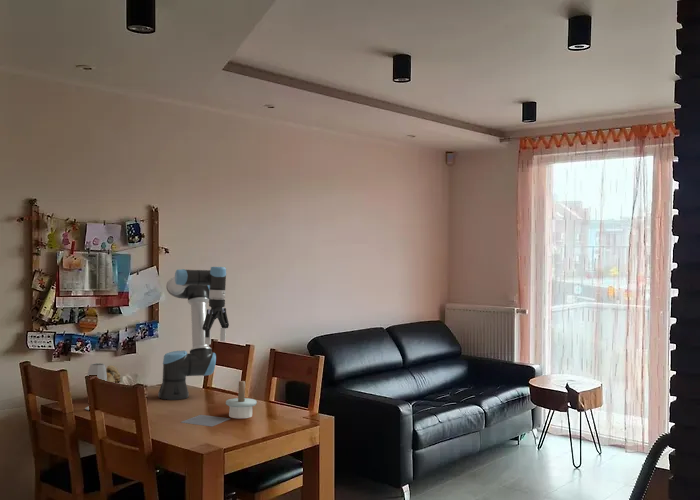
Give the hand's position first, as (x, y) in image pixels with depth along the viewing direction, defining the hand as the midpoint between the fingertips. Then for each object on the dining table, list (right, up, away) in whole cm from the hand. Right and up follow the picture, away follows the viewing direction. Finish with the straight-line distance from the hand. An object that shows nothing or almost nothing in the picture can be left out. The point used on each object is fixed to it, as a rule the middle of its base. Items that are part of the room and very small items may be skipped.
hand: (215, 342), depth 316 cm
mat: (+1, -31, -25) cm, 40 cm away
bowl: (+14, -32, -14) cm, 38 cm away
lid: (+15, -26, -14) cm, 33 cm away
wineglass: (-54, -30, -9) cm, 62 cm away
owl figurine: (-57, -30, +13) cm, 66 cm away
